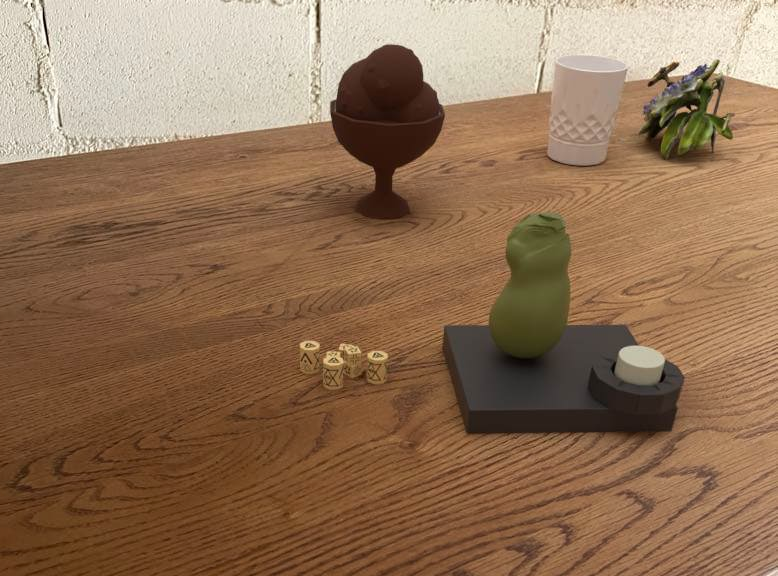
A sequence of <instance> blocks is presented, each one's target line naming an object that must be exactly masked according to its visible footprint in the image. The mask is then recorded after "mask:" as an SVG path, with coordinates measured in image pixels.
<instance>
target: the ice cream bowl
mask: <svg viewBox="0 0 778 576" xmlns="http://www.w3.org/2000/svg"><path fill="white" fill-rule="evenodd" d="M329 102H330V103H329V114H330V119H331V125H332V129H333V132H334V134H335V137H336V139H337V142H338V143H339V144H340V145H341V146H342V147H343V148H344V150H345V151H346V153H348V154H349V155H350V156H352V157H353V158H354V159H356V160H357V161H359V162H360V163H362V164H364V165H366V166H368V167H372V169H373V171H374V175H375V180H374V181H375V182H374V190H372V191H371V192H368V193H367V194H365V195H364V196H362V197H360V198H359V199H357V201H356V205H355V207H356V209H355V210H356V211H355V212H357V213H359V214H361V215H363V216H365V217H367V218H372V219H373V218H374V219H381V220H390V219H399V218H402V217H404V216H406V215H408V214H410V213H411V211H410V206H409V201H408V200H407V199H405V198H404V197H402V196H401V195H399V194H398V193H396V192H394V191H393V176H394V175H395V172H396V169H399V168H402V167H405V166H407V165H409V164H411V163H412V162H414V161H416V160H417V159H419V158H420V157H422V156H424V154H425V153H426V152H427V151H428V150H430V149H431V148H432V147H433V146H434V145H435V143H436V142H437V140H438V138H439V135H440V134H441V132H442V128H443V124H444V120H445V118H446V113H445V110H444V107H443V104H441V103H440V101H439V98H438V92H437V91H436V90H435V89H434V88H433V87H432V86H431V85H430V83H428V82H426V81H424V69H423V64H422V62H421V61H420V59H419V57H418V56H417V54H415V53H414V51H413V49H411V48H409V47H406V46H404V45H400V44H392V43H391V44H389V43H386V44H383V45H382V46H380V47H378V48H376V49H374V50H373V51H371V52H370V53H369V54H368V55H367V56H366V57H365V58H362V59H361V60H358V61H356V62H354V63H352V64H351V65H350V66H349V67H348V68H347V69H346V70H344V72H343V74H342V76H341V78H340V80H339V82H338V86H337V92H336V98H335V99H333V100H330V101H329Z"/></svg>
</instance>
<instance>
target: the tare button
mask: <svg viewBox="0 0 778 576" xmlns="http://www.w3.org/2000/svg"><path fill="white" fill-rule="evenodd" d="M665 359H666V358H665V356H664V355H663V354H662V353H661V352H660V351H658V350H657V349H654V348H653V347H652V348H651V347H648V346H644V345H639V346H627V347H624V348H622V349H621V350H620V351H619V354H618V358H617V363H616V367H615V371H614V374H615V376H616V377H618V378H619V379H621V380H623V381H624V382H627V383H631V384H635V385H639V386H640V385H656V384H658V383H659V381H660V378H661V374H662V370H663V367H664V363H665Z"/></svg>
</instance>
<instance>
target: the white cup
mask: <svg viewBox="0 0 778 576" xmlns="http://www.w3.org/2000/svg"><path fill="white" fill-rule="evenodd" d="M554 60H555V61H554V69H553V77H552V78H553V80H552V87H551V96H550V97H551V98H550V110H549V123H548V143H547V151H546V156H547V157H549V159H551V160H552V161H554V162H558V163H560V164H565V165H570V166H581V167H583V166H585V167H589V166H595V165H600V164H602V163H603V162H604V161H606V158H607V157H606V156H607V153H608V148H609V144H610V140H611V136H612V135H613V132H614V131H613V130H614V127H615V123H616V119H617V116H618V112H619V108H620V107H619V106H620V103H621V98H622V94H623V90H624V85H625V82H626V78H627V74H628V69H629V64H628V63H626V62H625V61H623V60H620V59H618V58H614V57H611V56H605V55H600V54H599V55H597V54H587V53H585V54H584V53H573V54H564V55H561V56H558V57H556V58H555V59H554Z"/></svg>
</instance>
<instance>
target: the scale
mask: <svg viewBox="0 0 778 576" xmlns="http://www.w3.org/2000/svg"><path fill="white" fill-rule="evenodd" d="M627 346H640V345H639V343H638V341H637V340H636V338H635V337H634V335H633V334H632V332H631V330H630V329H629V327H628V326H627V324H566V327H565V330H564V333H563V335H562V337H561V339H560V341H559V342H558V344H557V345H556V346H555V347H554V348H553V349H552V350H551V351H549V352H548V353H546V354H545V355H542V356H540V357H536V358H530V359H524V358H517V357H514V356H511V355H509V354H507V353H505V352H504V351H502V350H501V349H500V348H499V347H498V346H497V345H496V344H495V342H494V340H493V339H492V336H491V334H490V330H489V324H455V325H454V324H451V325H450V324H446V325H444V326H443V336H442V352H443V355H444V358H445V361H446V366H447V369H448V373H449V376H450V379H451V383H452V386H453V390H454V394H455V397H456V400H457V403H458V407H459V411H460V414H461V418H462V422H463V424H464V428H465V431H466V434H467V435H473V434H474V435H482V434H486V435H488V434H557V433H558V434H562V433H564V434H565V433H569V434H571V433H632V432H634V433H635V432H638V433H639V432H641V433H642V432H644V433H645V432H647V433H648V432H672V430H673V427H674V423H675V419H676V416H677V412H678V409H679V407H678V405H677V404H678V401H679V399H680V396H681V393H682V390H683V385H684V382H685V378H686V377H685V375H684V374H683V372H682V370H681V369H680V367H678V365H676V364H675V363H673V362H672V361H669V360H668V359H666V358H665V363H664V367H663V370H662V374H661V378H660V381H659V383H658V384H656V385H640V386H639V385H635V384H631V383H627V382H624V381H623V380H621V379H619V378H618V377H616V376H615V374H614V371H615V367H616V363H617V358H618V354H619V351H620V350H621V349H622V348H624V347H627Z"/></svg>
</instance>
